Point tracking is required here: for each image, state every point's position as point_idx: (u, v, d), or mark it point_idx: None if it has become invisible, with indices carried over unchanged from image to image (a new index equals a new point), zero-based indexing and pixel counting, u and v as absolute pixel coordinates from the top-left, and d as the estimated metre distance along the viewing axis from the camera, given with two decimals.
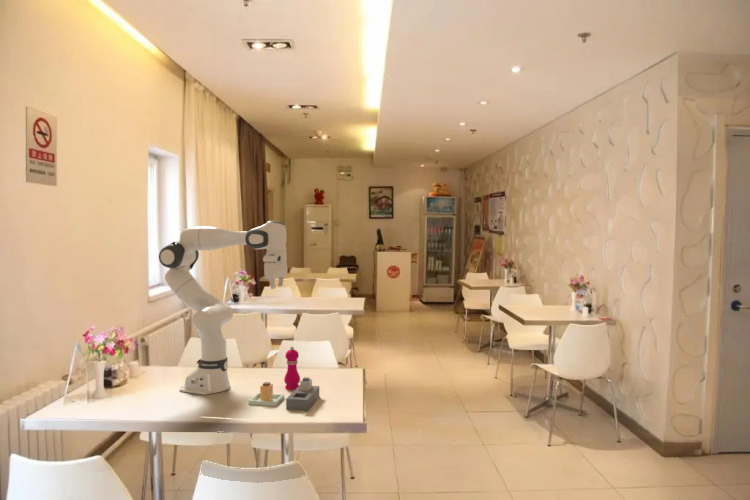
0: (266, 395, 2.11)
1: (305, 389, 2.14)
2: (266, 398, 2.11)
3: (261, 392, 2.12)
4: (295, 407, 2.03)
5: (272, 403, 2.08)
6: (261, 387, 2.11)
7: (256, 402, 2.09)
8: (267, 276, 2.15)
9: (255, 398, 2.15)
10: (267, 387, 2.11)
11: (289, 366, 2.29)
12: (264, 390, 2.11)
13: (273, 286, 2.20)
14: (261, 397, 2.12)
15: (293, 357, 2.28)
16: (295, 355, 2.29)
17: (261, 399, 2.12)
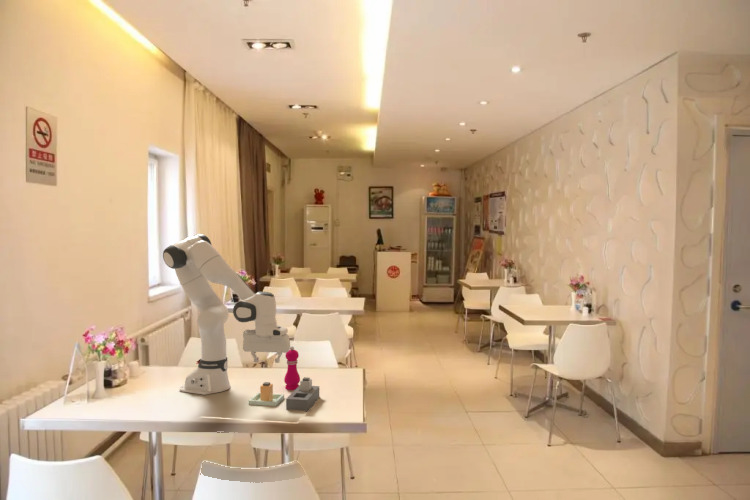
0: (266, 395, 2.11)
1: (305, 389, 2.14)
2: (266, 398, 2.11)
3: (261, 392, 2.12)
4: (295, 407, 2.03)
5: (272, 403, 2.08)
6: (261, 387, 2.11)
7: (256, 402, 2.09)
8: (288, 349, 2.10)
9: (255, 398, 2.15)
10: (267, 387, 2.11)
11: (289, 366, 2.29)
12: (264, 390, 2.11)
13: (279, 359, 2.12)
14: (261, 397, 2.12)
15: (293, 357, 2.28)
16: (295, 355, 2.29)
17: (261, 399, 2.12)
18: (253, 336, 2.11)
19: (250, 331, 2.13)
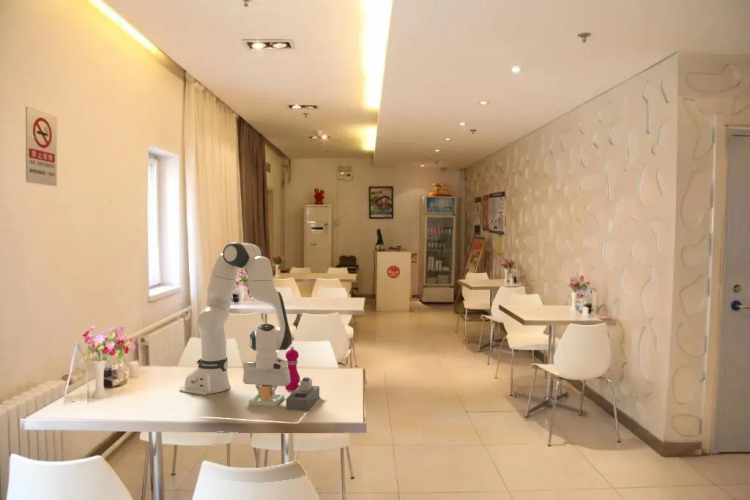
0: (266, 395, 2.11)
1: (305, 389, 2.14)
2: (266, 398, 2.11)
3: (261, 392, 2.12)
4: (295, 407, 2.03)
5: (272, 403, 2.08)
6: (261, 387, 2.11)
7: (256, 402, 2.09)
8: (288, 383, 2.11)
9: (255, 398, 2.15)
10: (267, 387, 2.11)
11: (289, 366, 2.29)
12: (264, 390, 2.11)
13: (274, 392, 2.13)
14: (261, 397, 2.12)
15: (293, 357, 2.28)
16: (295, 355, 2.29)
17: (261, 399, 2.12)
18: (253, 369, 2.12)
19: (250, 364, 2.13)
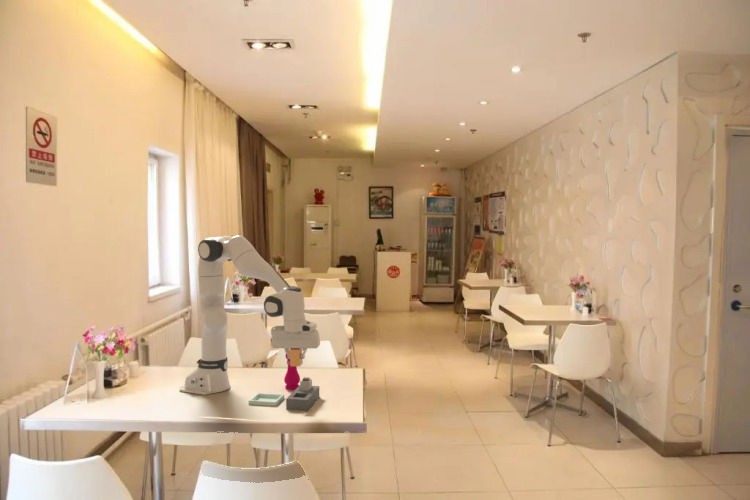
0: (296, 358, 2.05)
1: (305, 389, 2.14)
2: (296, 362, 2.05)
3: (291, 356, 2.06)
4: (295, 407, 2.03)
5: (272, 403, 2.08)
6: (290, 350, 2.05)
7: (256, 402, 2.09)
8: (318, 345, 2.05)
9: (255, 398, 2.15)
10: (296, 350, 2.05)
11: (289, 366, 2.29)
12: (294, 353, 2.05)
13: (304, 355, 2.07)
14: (291, 361, 2.06)
15: None
16: None
17: (291, 363, 2.06)
18: (282, 332, 2.06)
19: (278, 327, 2.07)
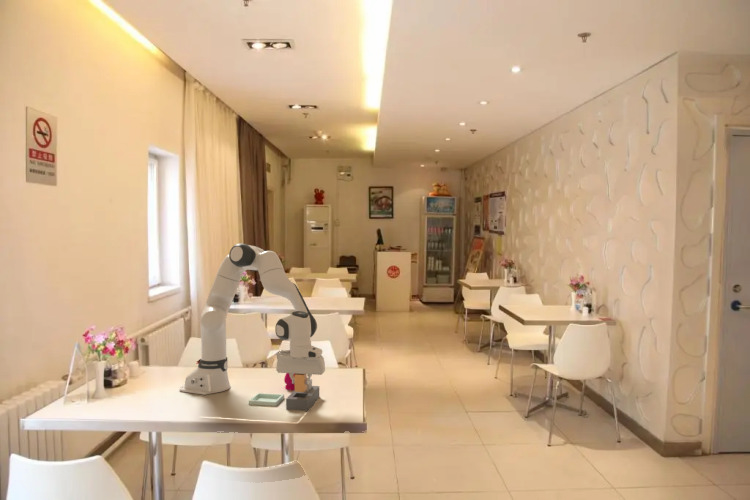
0: (300, 384, 2.06)
1: None
2: (301, 387, 2.06)
3: (295, 381, 2.06)
4: (295, 407, 2.03)
5: (272, 403, 2.08)
6: (295, 376, 2.06)
7: (256, 402, 2.09)
8: (323, 371, 2.05)
9: (255, 398, 2.15)
10: (301, 376, 2.05)
11: None
12: (299, 379, 2.06)
13: (308, 381, 2.08)
14: (295, 386, 2.06)
15: None
16: None
17: (295, 388, 2.06)
18: (287, 357, 2.06)
19: (284, 352, 2.08)
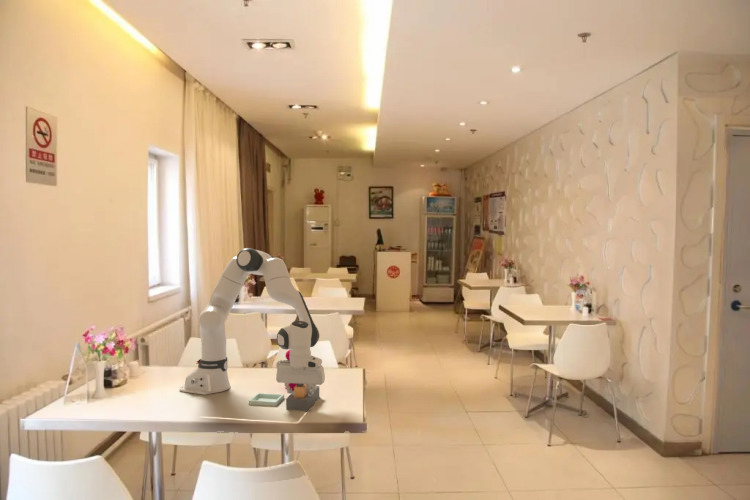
0: (300, 396, 2.06)
1: None
2: None
3: (295, 393, 2.06)
4: (295, 407, 2.03)
5: (272, 403, 2.08)
6: (295, 388, 2.06)
7: (256, 402, 2.09)
8: (323, 381, 2.05)
9: (255, 398, 2.15)
10: (301, 388, 2.06)
11: None
12: (298, 391, 2.06)
13: (313, 391, 2.07)
14: None
15: None
16: None
17: None
18: (287, 367, 2.06)
19: (284, 362, 2.08)
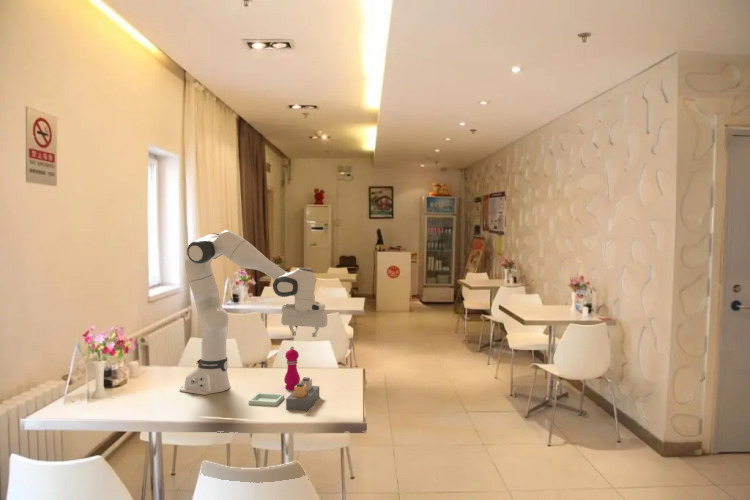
0: (300, 396, 2.06)
1: None
2: None
3: (295, 393, 2.06)
4: (295, 407, 2.03)
5: (272, 403, 2.08)
6: (295, 388, 2.06)
7: (256, 402, 2.09)
8: (326, 324, 2.16)
9: (255, 398, 2.15)
10: (301, 388, 2.06)
11: (289, 366, 2.29)
12: (298, 391, 2.06)
13: (316, 334, 2.18)
14: None
15: (293, 357, 2.28)
16: (295, 355, 2.29)
17: None
18: (292, 310, 2.18)
19: (289, 305, 2.19)
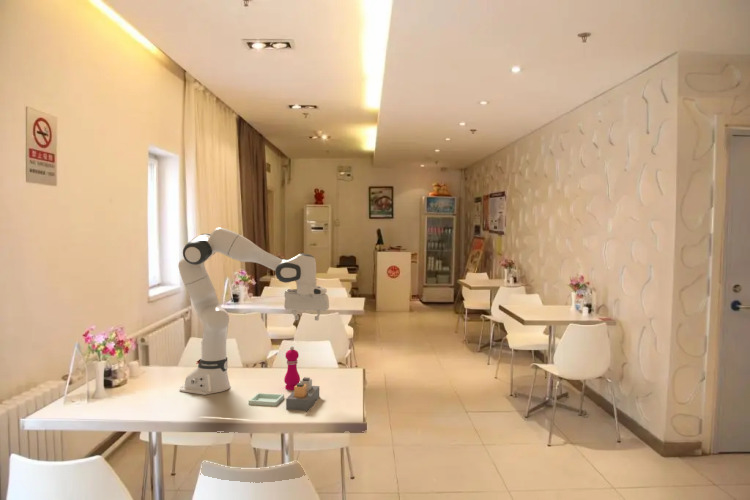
0: (300, 396, 2.06)
1: None
2: None
3: (295, 393, 2.06)
4: (295, 407, 2.03)
5: (272, 403, 2.08)
6: (295, 388, 2.06)
7: (256, 402, 2.09)
8: (327, 308, 2.23)
9: (255, 398, 2.15)
10: (301, 388, 2.06)
11: (289, 366, 2.29)
12: (298, 391, 2.06)
13: (318, 317, 2.25)
14: None
15: (293, 357, 2.28)
16: (295, 355, 2.29)
17: None
18: (294, 295, 2.24)
19: (291, 290, 2.26)
